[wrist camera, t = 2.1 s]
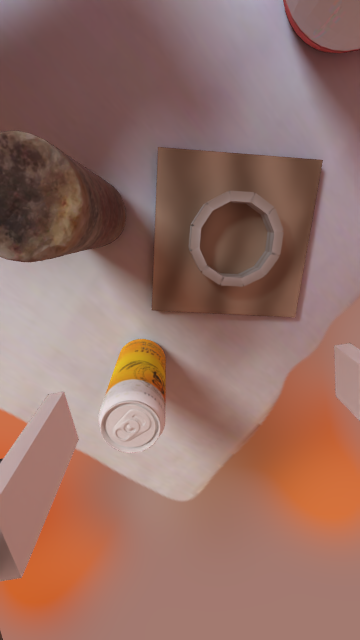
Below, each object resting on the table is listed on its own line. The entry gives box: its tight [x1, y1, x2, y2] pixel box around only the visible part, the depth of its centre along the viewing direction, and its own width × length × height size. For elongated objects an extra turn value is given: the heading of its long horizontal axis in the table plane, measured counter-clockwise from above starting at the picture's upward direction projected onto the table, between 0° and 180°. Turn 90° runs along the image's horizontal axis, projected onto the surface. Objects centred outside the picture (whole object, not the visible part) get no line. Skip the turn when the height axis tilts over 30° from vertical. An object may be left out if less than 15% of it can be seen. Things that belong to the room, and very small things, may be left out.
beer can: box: [98, 339, 166, 453], centre depth 35 cm, size 6×6×15 cm
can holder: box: [152, 147, 323, 317], centre depth 37 cm, size 18×18×4 cm
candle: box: [0, 131, 126, 262], centre depth 27 cm, size 8×7×20 cm
